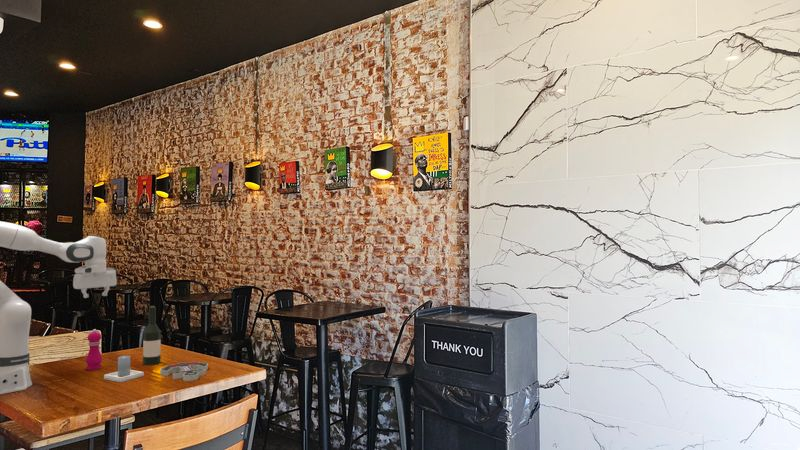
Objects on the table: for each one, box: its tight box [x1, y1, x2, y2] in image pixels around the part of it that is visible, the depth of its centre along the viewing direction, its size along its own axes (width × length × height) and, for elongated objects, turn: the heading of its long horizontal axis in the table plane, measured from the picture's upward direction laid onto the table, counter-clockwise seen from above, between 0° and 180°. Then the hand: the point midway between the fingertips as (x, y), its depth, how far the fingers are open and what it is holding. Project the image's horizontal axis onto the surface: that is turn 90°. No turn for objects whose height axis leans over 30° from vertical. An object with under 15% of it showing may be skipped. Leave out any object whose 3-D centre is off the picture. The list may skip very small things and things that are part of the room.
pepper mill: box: [85, 328, 103, 371], centre depth 266 cm, size 7×7×20 cm
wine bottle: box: [142, 305, 162, 366], centre depth 277 cm, size 8×8×30 cm
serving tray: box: [103, 369, 145, 383], centre depth 249 cm, size 12×12×2 cm
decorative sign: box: [160, 361, 209, 382], centre depth 257 cm, size 22×3×30 cm
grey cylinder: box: [117, 355, 131, 377], centre depth 249 cm, size 5×5×9 cm
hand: (95, 296), depth 259 cm, fingers open, 8 cm apart
